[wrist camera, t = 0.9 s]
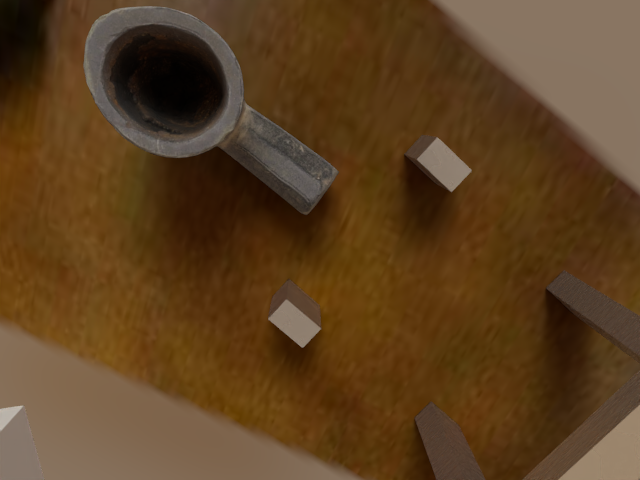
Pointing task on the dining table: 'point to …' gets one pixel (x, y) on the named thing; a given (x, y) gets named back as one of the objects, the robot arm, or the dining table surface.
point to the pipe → (192, 99)
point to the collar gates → (581, 299)
